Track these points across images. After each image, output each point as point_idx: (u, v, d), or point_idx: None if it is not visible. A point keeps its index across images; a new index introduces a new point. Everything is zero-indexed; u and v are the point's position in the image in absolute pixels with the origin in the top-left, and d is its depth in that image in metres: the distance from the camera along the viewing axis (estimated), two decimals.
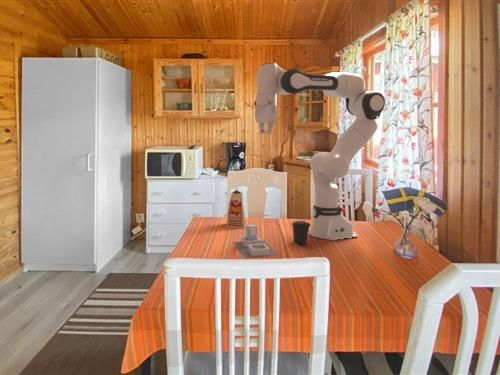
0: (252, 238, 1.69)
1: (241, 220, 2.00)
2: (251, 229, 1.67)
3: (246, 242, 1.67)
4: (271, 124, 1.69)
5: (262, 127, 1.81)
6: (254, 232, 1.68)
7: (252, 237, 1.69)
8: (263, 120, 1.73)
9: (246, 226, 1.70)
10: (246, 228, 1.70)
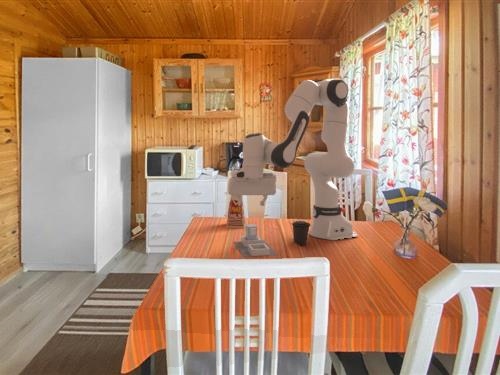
0: (252, 238, 1.69)
1: (241, 220, 2.00)
2: (251, 229, 1.67)
3: (246, 242, 1.67)
4: None
5: (239, 199, 1.67)
6: (254, 232, 1.68)
7: (252, 237, 1.69)
8: (257, 192, 1.66)
9: (246, 226, 1.70)
10: (246, 228, 1.70)
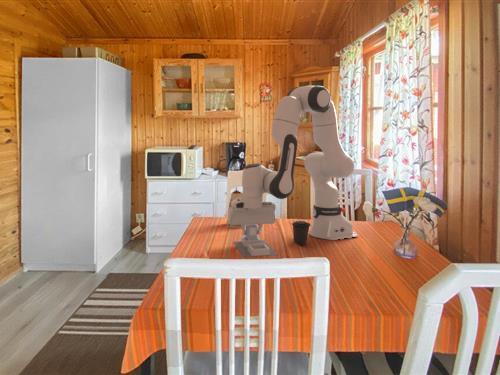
0: (252, 238, 1.69)
1: None
2: (251, 229, 1.67)
3: (246, 242, 1.67)
4: None
5: (243, 228, 1.69)
6: (254, 232, 1.68)
7: (252, 237, 1.69)
8: (256, 221, 1.68)
9: (246, 226, 1.70)
10: (246, 228, 1.70)
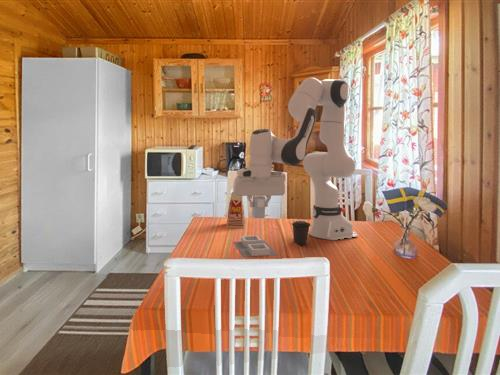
0: (259, 211, 1.55)
1: (241, 220, 2.00)
2: (259, 200, 1.54)
3: (246, 242, 1.67)
4: None
5: (250, 200, 1.56)
6: (262, 204, 1.54)
7: (259, 210, 1.55)
8: (265, 192, 1.55)
9: (253, 198, 1.57)
10: (253, 200, 1.57)
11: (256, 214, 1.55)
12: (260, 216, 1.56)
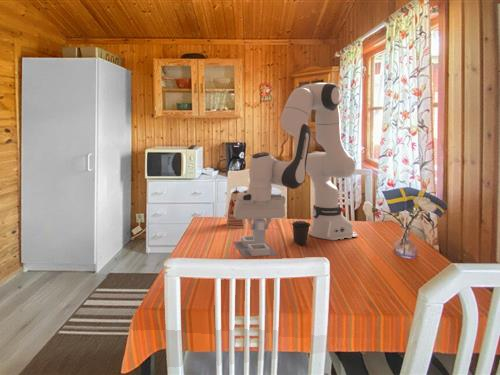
0: (260, 233, 1.56)
1: (241, 220, 2.00)
2: (259, 223, 1.55)
3: (246, 242, 1.67)
4: None
5: None
6: (262, 227, 1.55)
7: (260, 232, 1.56)
8: (265, 215, 1.56)
9: (254, 220, 1.58)
10: (253, 222, 1.58)
11: (256, 237, 1.56)
12: (260, 239, 1.57)
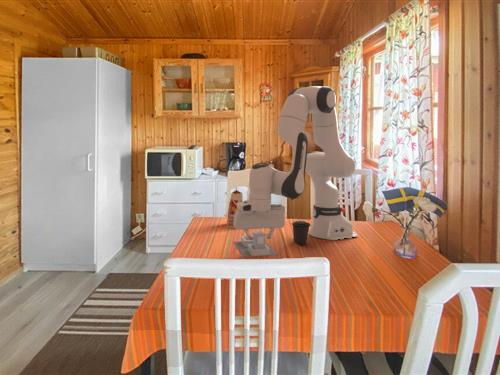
0: (259, 247, 1.57)
1: None
2: (259, 237, 1.56)
3: (246, 242, 1.67)
4: None
5: None
6: (262, 240, 1.56)
7: (260, 246, 1.57)
8: (264, 225, 1.57)
9: (253, 234, 1.59)
10: (253, 236, 1.59)
11: None
12: None
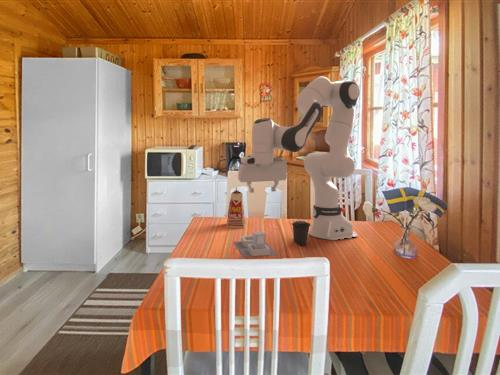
0: (259, 247, 1.57)
1: (241, 220, 2.00)
2: (259, 237, 1.56)
3: (246, 242, 1.67)
4: None
5: (250, 186, 1.65)
6: (262, 240, 1.56)
7: (260, 246, 1.57)
8: (268, 178, 1.64)
9: (253, 234, 1.59)
10: (253, 236, 1.59)
11: None
12: None
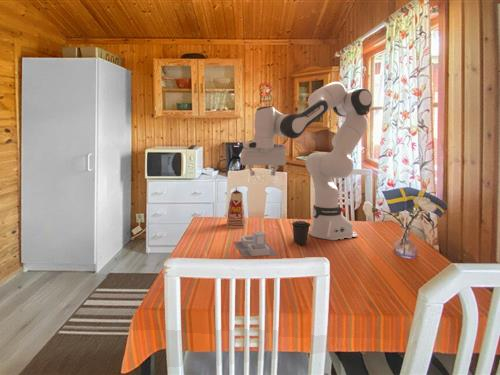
0: (259, 247, 1.57)
1: (241, 220, 2.00)
2: (259, 237, 1.56)
3: (246, 242, 1.67)
4: None
5: (251, 169, 1.75)
6: (262, 240, 1.56)
7: (260, 246, 1.57)
8: (268, 162, 1.75)
9: (253, 234, 1.59)
10: (253, 236, 1.59)
11: None
12: None
